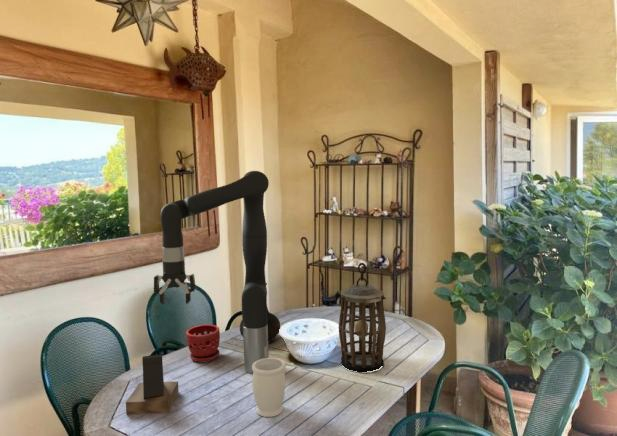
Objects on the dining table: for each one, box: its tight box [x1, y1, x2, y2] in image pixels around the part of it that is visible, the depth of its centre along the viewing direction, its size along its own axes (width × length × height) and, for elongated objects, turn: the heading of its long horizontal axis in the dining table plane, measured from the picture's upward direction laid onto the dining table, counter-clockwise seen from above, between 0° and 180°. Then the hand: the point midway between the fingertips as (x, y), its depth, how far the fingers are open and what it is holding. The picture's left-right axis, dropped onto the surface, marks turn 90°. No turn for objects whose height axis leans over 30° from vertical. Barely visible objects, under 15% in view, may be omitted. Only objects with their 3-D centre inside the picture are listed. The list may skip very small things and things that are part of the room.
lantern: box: [338, 262, 387, 373], centre depth 172 cm, size 19×19×40 cm
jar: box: [251, 357, 286, 418], centre depth 140 cm, size 11×10×15 cm
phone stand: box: [141, 353, 165, 399], centre depth 145 cm, size 9×6×12 cm, turn 17°
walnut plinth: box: [125, 381, 180, 415], centre depth 146 cm, size 13×13×4 cm
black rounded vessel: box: [239, 282, 281, 344], centre depth 198 cm, size 18×18×28 cm
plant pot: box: [185, 324, 221, 363], centre depth 181 cm, size 13×13×12 cm
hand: (175, 303), depth 161 cm, fingers open, 8 cm apart
